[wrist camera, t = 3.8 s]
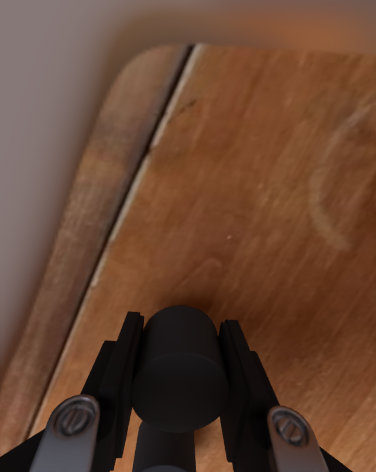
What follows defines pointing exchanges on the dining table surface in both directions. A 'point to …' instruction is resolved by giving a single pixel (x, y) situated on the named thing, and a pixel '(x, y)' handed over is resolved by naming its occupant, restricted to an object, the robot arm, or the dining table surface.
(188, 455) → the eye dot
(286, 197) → the dining table surface
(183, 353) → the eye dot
